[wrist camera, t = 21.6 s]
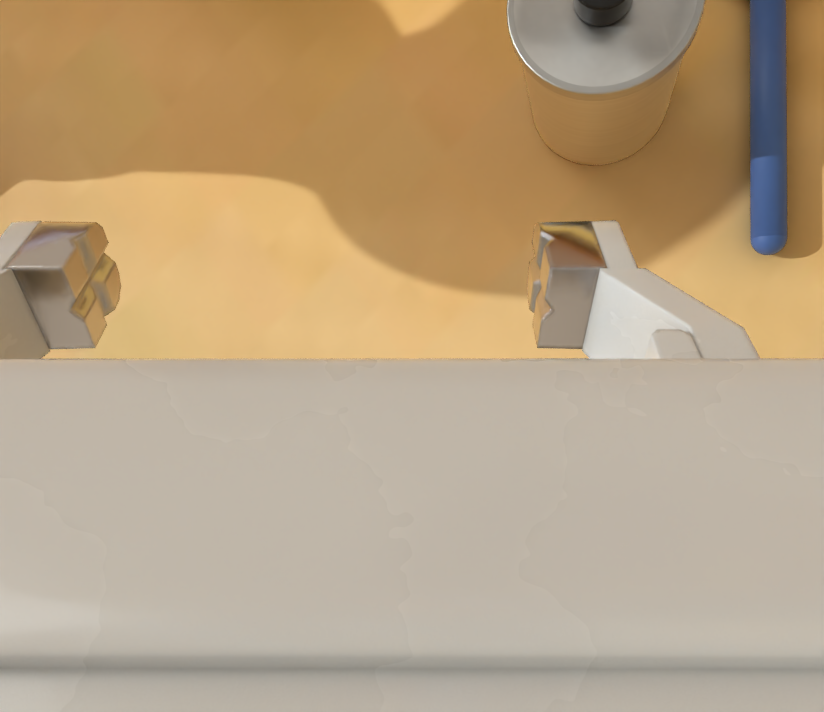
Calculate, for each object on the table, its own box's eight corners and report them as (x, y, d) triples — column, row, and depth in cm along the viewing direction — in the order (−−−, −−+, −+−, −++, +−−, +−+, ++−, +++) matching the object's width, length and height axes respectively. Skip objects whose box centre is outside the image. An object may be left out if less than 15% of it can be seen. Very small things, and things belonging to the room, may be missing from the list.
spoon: (820, 255, 30) (831, 250, 29) (710, 259, 31) (716, 253, 30) (818, -106, 31) (828, -129, 29) (710, -91, 32) (715, -112, 30)
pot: (526, 173, 33) (501, 88, 23) (527, 37, 34) (503, -105, 24) (673, 165, 32) (713, 69, 22) (673, 22, 32) (712, -138, 22)
